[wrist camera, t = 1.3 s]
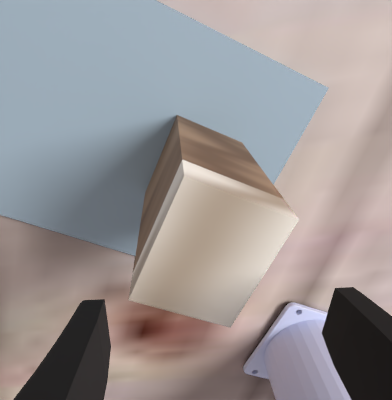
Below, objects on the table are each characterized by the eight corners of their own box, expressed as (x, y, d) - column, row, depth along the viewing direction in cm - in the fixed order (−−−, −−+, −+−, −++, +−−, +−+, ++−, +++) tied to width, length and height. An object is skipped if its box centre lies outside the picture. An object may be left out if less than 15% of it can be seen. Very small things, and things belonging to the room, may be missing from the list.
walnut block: (242, 142, 18) (299, 219, 10) (205, 214, 20) (230, 327, 12) (177, 114, 18) (183, 175, 9) (145, 193, 19) (128, 300, 11)
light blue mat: (324, 86, 18) (328, 88, 18) (217, 276, 23) (218, 281, 23) (-195, -177, 12) (-209, -185, 12) (-184, 153, 17) (-193, 156, 17)
